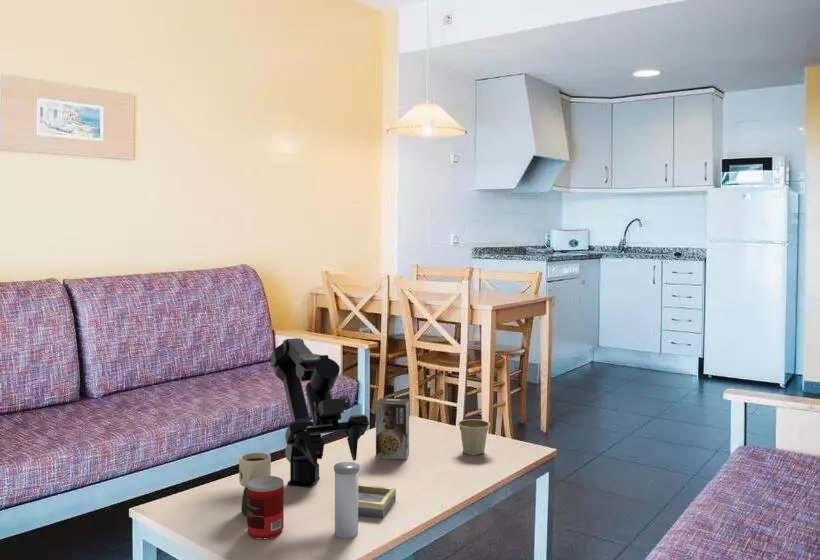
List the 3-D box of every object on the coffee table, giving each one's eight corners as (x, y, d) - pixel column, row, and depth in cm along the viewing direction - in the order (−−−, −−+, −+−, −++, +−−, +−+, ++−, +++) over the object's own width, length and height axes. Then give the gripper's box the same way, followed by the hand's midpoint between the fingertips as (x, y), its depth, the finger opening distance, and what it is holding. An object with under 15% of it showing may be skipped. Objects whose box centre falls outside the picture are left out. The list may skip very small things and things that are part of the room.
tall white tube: (330, 537, 149) (330, 468, 148) (338, 526, 154) (339, 460, 153) (354, 540, 148) (354, 471, 147) (362, 529, 153) (362, 463, 152)
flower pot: (452, 448, 211) (453, 420, 210) (481, 446, 213) (482, 418, 213) (464, 458, 202) (465, 428, 201) (494, 455, 204) (495, 426, 204)
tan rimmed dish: (339, 513, 162) (339, 499, 162) (354, 496, 172) (354, 483, 172) (383, 518, 159) (383, 504, 159) (395, 501, 169) (395, 488, 169)
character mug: (246, 502, 167) (245, 449, 167) (275, 503, 167) (275, 449, 166) (233, 521, 157) (233, 464, 156) (265, 522, 156) (265, 465, 155)
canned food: (286, 524, 156) (285, 475, 155) (280, 539, 148) (280, 488, 147) (251, 524, 155) (250, 475, 155) (243, 540, 147) (243, 488, 147)
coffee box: (409, 453, 206) (410, 398, 205) (406, 460, 200) (406, 404, 198) (379, 451, 207) (379, 397, 206) (374, 458, 201) (375, 402, 200)
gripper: (288, 387, 157) (301, 449, 147) (366, 380, 164) (384, 439, 155) (279, 413, 164) (292, 474, 155) (355, 405, 172) (371, 463, 163)
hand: (335, 462), depth 157 cm, fingers open, 9 cm apart
